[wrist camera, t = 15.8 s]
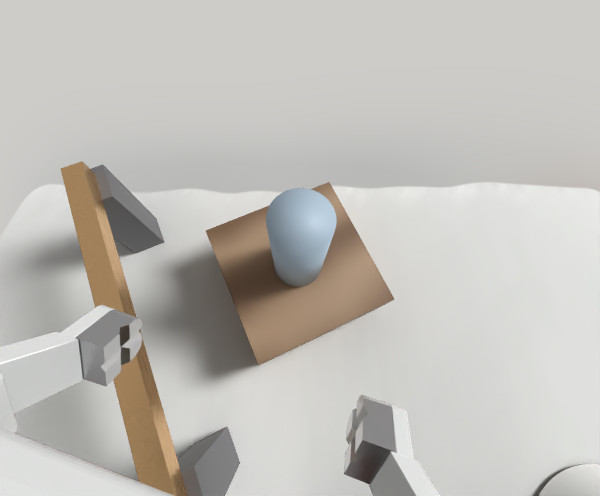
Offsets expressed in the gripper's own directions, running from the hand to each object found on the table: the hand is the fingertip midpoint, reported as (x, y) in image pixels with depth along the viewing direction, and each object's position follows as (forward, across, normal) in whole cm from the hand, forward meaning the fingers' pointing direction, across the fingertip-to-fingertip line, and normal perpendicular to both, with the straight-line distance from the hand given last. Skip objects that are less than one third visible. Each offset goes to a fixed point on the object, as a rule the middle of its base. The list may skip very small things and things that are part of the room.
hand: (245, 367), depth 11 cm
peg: (+15, 0, +4) cm, 15 cm away
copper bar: (+6, +10, +7) cm, 13 cm away
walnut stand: (+19, 0, +8) cm, 21 cm away
